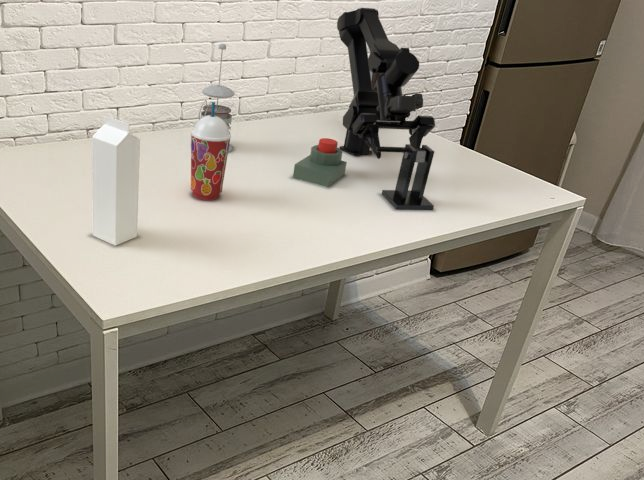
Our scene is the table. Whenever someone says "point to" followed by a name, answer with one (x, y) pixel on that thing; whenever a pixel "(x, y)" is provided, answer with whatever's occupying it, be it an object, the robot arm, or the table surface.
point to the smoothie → (209, 156)
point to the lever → (419, 157)
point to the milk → (115, 182)
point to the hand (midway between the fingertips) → (397, 158)
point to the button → (327, 145)
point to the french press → (217, 92)
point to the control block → (320, 167)
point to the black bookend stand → (414, 197)
